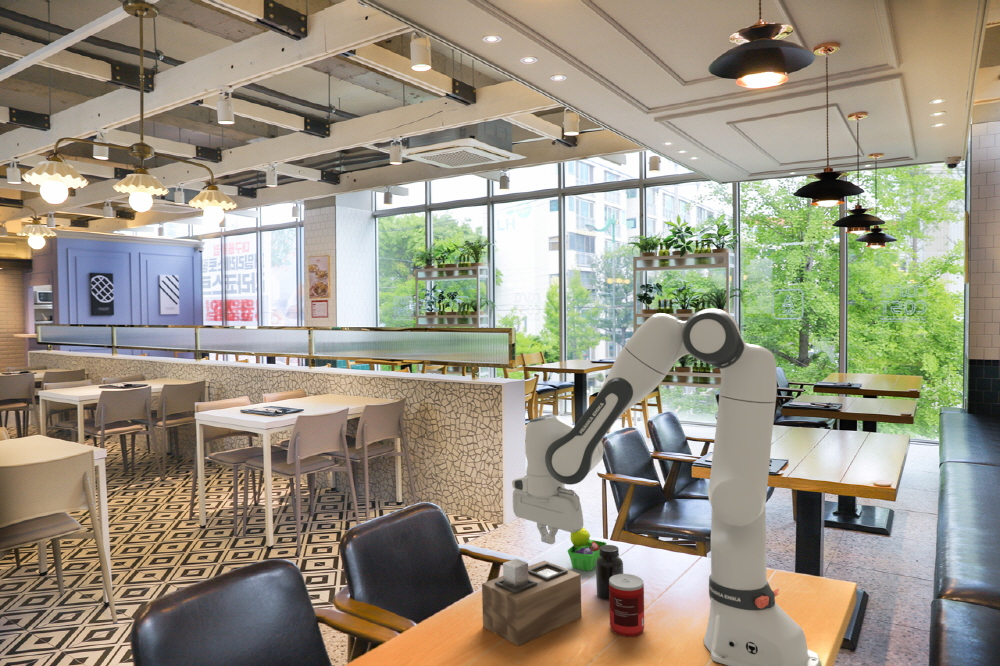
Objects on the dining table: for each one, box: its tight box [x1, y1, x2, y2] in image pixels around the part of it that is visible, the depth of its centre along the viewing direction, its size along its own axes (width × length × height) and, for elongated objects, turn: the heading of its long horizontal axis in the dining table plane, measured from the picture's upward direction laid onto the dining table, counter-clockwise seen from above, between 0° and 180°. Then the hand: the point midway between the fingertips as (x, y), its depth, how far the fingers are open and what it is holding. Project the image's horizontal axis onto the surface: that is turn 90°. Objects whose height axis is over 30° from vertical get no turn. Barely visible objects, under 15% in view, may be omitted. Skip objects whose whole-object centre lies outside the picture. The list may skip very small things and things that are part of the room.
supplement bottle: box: [595, 544, 624, 601], centre depth 166 cm, size 7×7×12 cm
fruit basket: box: [567, 526, 608, 572], centre depth 187 cm, size 11×9×11 cm
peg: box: [502, 558, 529, 590], centre depth 149 cm, size 4×4×9 cm
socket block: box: [481, 560, 582, 647], centre depth 153 cm, size 12×20×11 cm, turn 131°
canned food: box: [608, 573, 645, 638], centre depth 148 cm, size 8×8×11 cm
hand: (548, 542), depth 155 cm, fingers closed
